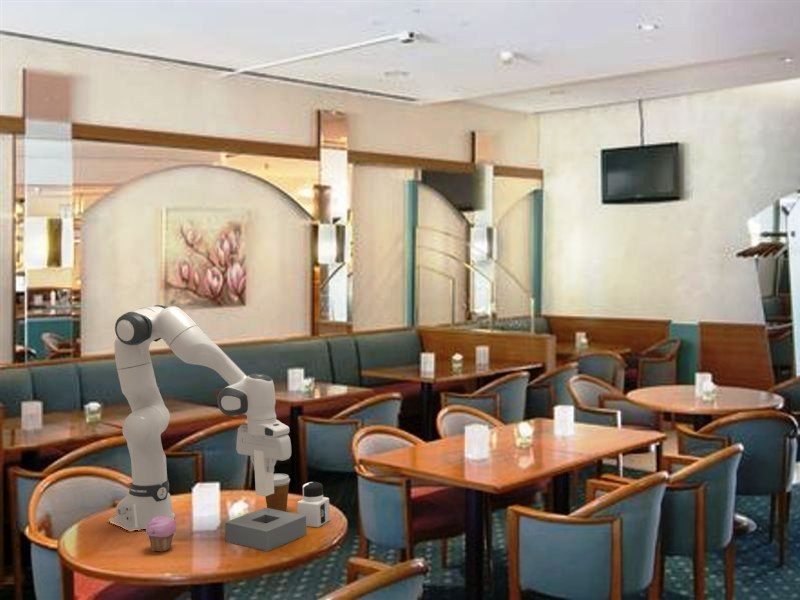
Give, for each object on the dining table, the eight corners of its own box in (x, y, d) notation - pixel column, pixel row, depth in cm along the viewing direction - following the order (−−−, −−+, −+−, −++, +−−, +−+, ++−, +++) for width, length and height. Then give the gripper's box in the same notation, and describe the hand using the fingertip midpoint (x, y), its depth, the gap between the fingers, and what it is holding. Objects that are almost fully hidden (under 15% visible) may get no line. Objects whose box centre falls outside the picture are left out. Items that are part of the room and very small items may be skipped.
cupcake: (155, 544, 277) (153, 512, 276) (181, 545, 276) (180, 512, 275) (142, 554, 268) (140, 521, 268) (169, 555, 267) (168, 522, 266)
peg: (255, 494, 279) (253, 449, 278) (264, 491, 282) (262, 447, 281) (265, 496, 276) (263, 451, 275) (274, 493, 280) (272, 448, 279)
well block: (225, 541, 278) (225, 522, 278) (265, 525, 292) (264, 507, 292) (267, 551, 268) (266, 531, 267) (306, 534, 282) (305, 515, 282)
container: (330, 520, 296) (328, 481, 295) (318, 527, 289) (317, 487, 288) (309, 518, 299) (308, 479, 298) (297, 525, 292) (296, 485, 291)
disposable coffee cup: (270, 506, 313) (269, 472, 312) (295, 508, 310) (294, 474, 309) (258, 514, 304) (256, 479, 303) (283, 516, 301) (282, 481, 300)
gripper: (230, 425, 281) (232, 469, 282) (279, 431, 269) (281, 477, 270) (245, 421, 286) (247, 464, 287) (293, 427, 274) (295, 472, 275)
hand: (264, 471), depth 279 cm, fingers closed on peg, 4 cm apart
